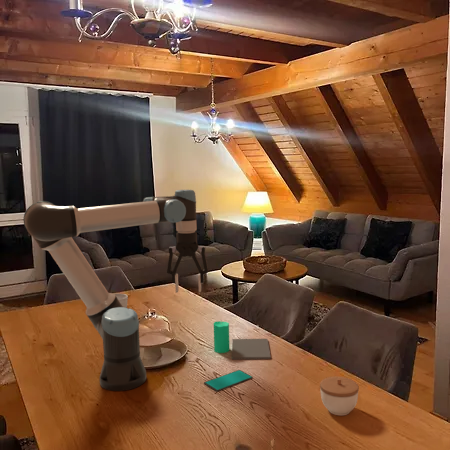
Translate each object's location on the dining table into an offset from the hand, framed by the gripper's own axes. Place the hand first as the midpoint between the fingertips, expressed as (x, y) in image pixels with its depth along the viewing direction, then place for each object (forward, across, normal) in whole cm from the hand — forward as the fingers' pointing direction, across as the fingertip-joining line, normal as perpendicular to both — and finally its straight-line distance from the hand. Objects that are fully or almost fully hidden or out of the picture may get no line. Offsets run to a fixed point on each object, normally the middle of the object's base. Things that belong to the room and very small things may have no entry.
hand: (188, 291), depth 180 cm
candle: (+23, -12, 0) cm, 26 cm away
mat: (+23, -23, 0) cm, 33 cm away
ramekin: (+24, +42, -51) cm, 70 cm away
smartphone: (+24, -15, +26) cm, 38 cm away
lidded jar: (+23, -47, +45) cm, 69 cm away
